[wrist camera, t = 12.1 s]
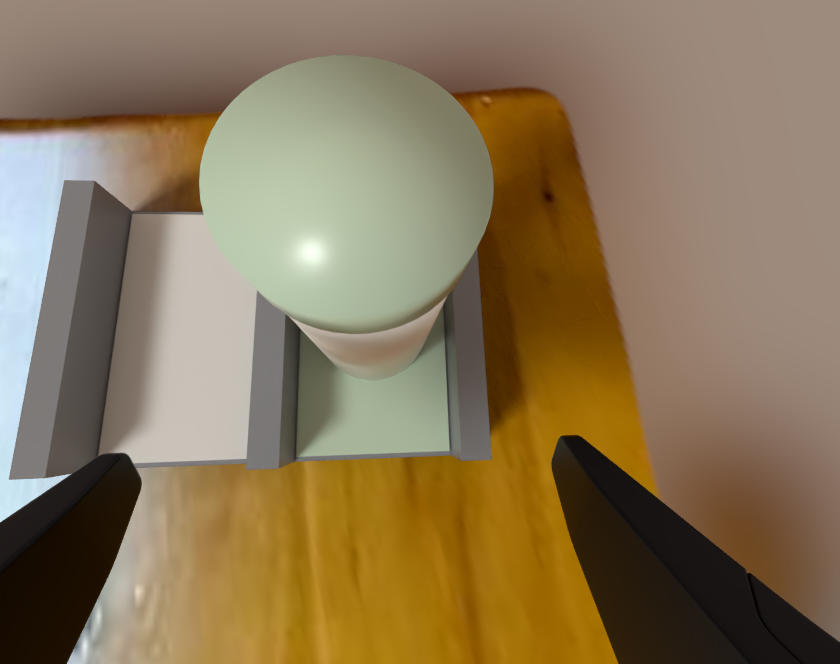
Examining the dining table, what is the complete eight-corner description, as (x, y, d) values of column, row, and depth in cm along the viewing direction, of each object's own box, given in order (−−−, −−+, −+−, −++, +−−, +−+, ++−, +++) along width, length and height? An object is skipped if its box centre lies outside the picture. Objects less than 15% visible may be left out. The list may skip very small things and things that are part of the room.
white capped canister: (449, 340, 19) (550, 209, 7) (359, 405, 18) (308, 377, 6) (386, 257, 20) (385, 15, 8) (296, 315, 18) (141, 137, 7)
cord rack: (473, 452, 19) (491, 459, 15) (83, 467, 17) (9, 479, 14) (459, 224, 21) (473, 187, 18) (119, 221, 20) (64, 180, 17)
